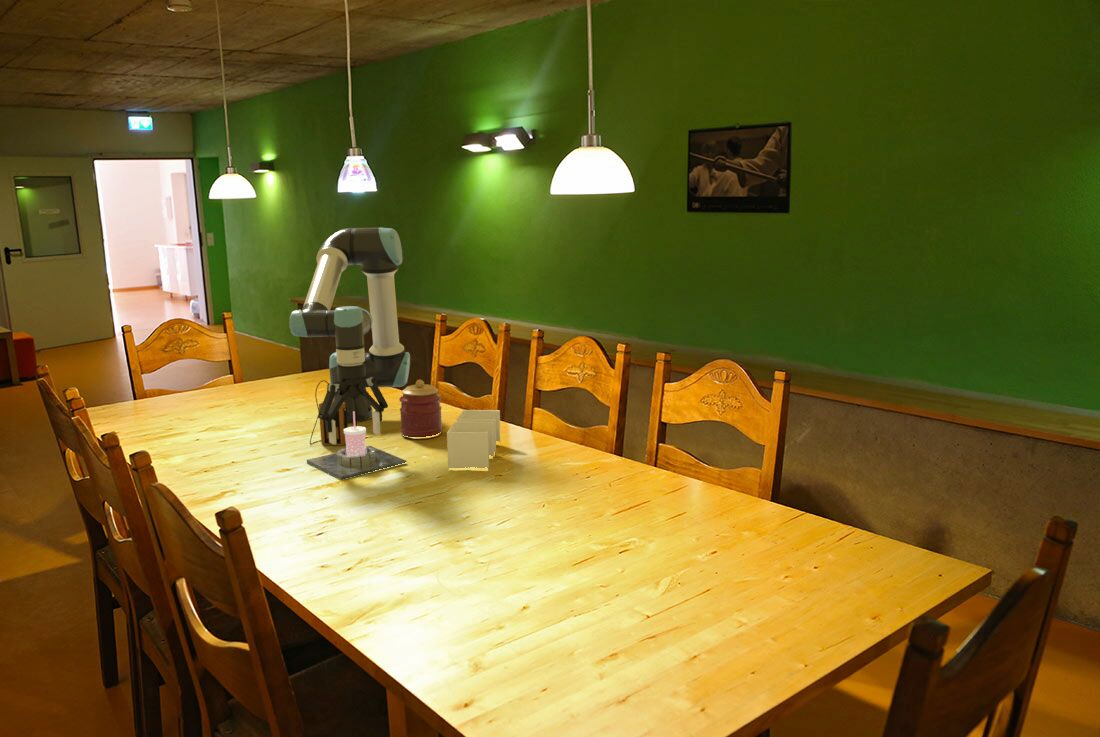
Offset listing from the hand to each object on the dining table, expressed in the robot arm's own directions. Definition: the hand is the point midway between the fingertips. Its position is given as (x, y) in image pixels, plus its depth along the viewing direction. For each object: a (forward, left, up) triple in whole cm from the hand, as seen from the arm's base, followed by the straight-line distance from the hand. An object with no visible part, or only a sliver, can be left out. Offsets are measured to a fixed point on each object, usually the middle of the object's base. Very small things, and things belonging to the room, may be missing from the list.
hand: (355, 438), depth 229 cm
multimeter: (-24, +7, -8) cm, 26 cm away
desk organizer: (+18, +28, -8) cm, 34 cm away
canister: (-13, +30, -8) cm, 33 cm away
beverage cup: (0, 0, -6) cm, 6 cm away
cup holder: (0, 0, -7) cm, 7 cm away
